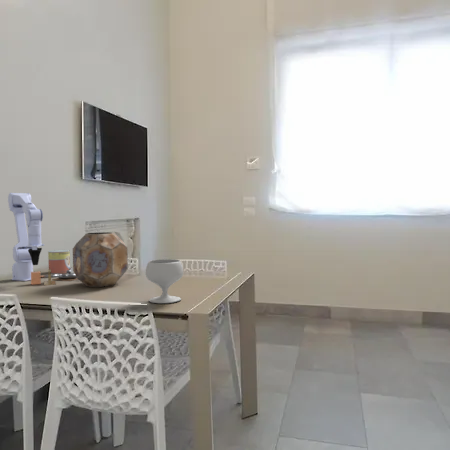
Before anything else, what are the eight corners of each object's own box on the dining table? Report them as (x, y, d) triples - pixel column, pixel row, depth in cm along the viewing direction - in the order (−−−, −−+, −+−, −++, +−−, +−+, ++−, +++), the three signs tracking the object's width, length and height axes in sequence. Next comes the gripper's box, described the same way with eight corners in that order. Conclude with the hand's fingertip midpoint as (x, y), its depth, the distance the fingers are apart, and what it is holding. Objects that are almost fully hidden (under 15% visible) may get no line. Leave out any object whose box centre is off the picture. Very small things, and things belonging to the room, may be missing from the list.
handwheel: (75, 278, 212) (74, 270, 212) (54, 278, 212) (54, 270, 212) (82, 275, 222) (81, 267, 222) (62, 275, 222) (62, 267, 222)
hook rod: (31, 284, 200) (30, 272, 199) (31, 283, 204) (31, 271, 203) (61, 282, 205) (61, 271, 204) (61, 281, 208) (61, 269, 208)
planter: (63, 288, 191) (61, 234, 190) (97, 279, 214) (96, 231, 213) (105, 290, 184) (104, 235, 183) (136, 281, 207) (135, 231, 206)
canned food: (65, 273, 234) (65, 251, 234) (45, 274, 234) (44, 252, 234) (73, 270, 245) (72, 249, 245) (53, 271, 246) (53, 250, 245)
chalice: (138, 303, 159) (138, 262, 158) (158, 296, 172) (157, 258, 171) (172, 306, 154) (172, 264, 153) (189, 298, 167) (189, 259, 166)
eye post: (43, 285, 199) (43, 272, 199) (44, 282, 208) (43, 269, 208) (55, 284, 201) (55, 271, 201) (55, 281, 210) (55, 268, 210)
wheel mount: (52, 279, 214) (52, 278, 214) (68, 276, 225) (68, 275, 225) (69, 281, 210) (69, 279, 210) (85, 277, 220) (85, 276, 220)
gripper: (43, 235, 196) (44, 265, 197) (44, 234, 210) (45, 261, 210) (26, 236, 194) (27, 266, 194) (28, 234, 207) (29, 262, 208)
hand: (35, 264), depth 202 cm, fingers open, 6 cm apart
